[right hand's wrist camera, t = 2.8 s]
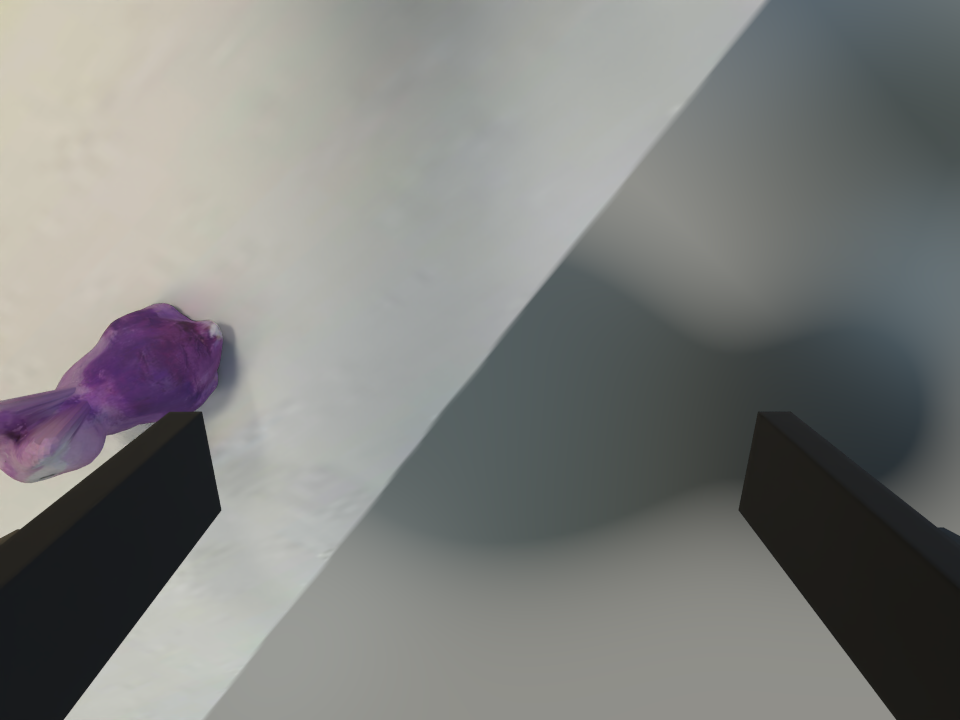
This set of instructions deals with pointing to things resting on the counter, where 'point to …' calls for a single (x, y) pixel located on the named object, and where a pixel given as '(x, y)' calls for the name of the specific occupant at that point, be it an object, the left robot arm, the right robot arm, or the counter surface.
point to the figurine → (111, 392)
